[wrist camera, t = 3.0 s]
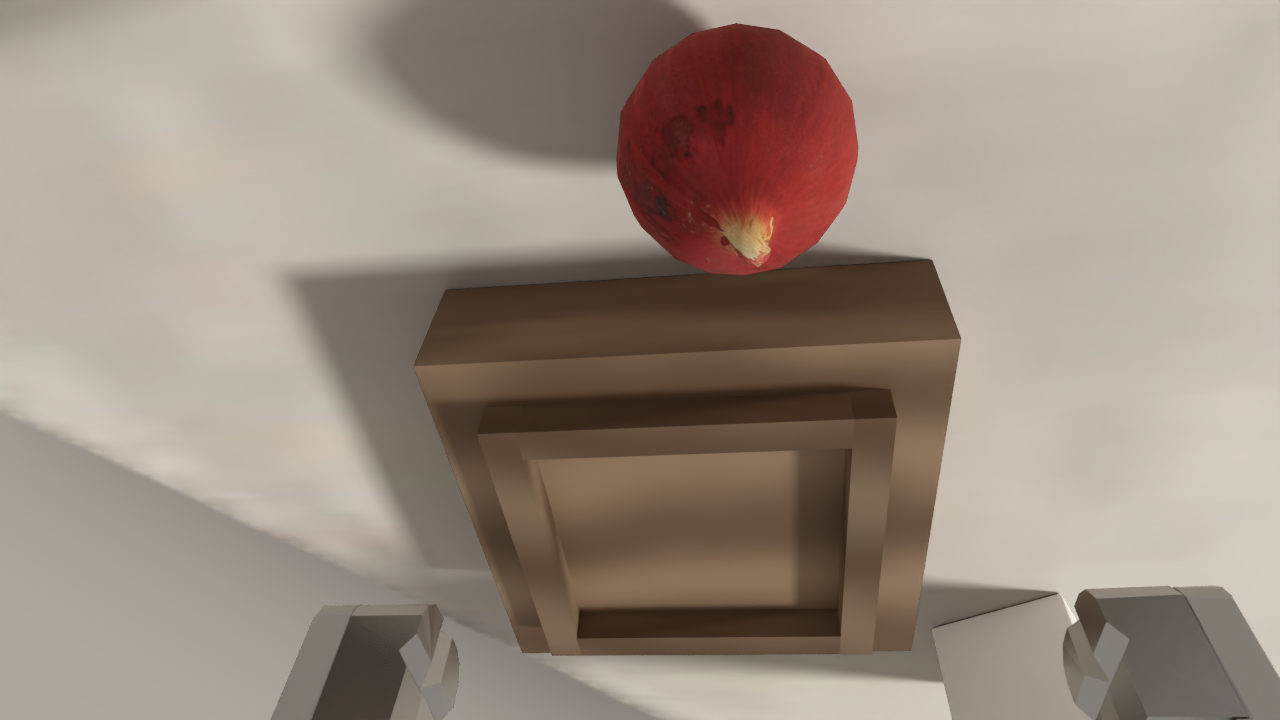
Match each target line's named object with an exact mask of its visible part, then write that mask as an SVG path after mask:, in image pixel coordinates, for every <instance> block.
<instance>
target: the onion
mask: <svg viewBox="0 0 1280 720" xmlns="http://www.w3.org/2000/svg"><path fill="white" fill-rule="evenodd" d="M857 157H858V141H857V134H856V127H855V120H854V113H853V106H852V100H851V99H850V97H849V95H848V94H847V92H846V91H845V89H844V88H843V86H842V84H841V83H840V81H839V80H838V78H837V76H836V75H835V73H834V72H833V70H832V68H831V67H830V65H829V64H828V62H827V60H826V59H825V58H823V57H822V56H821V55H819V54H818V53H816V52H815V51H813V50H811V49H810V48H808V47H806V46H805V45H803V44H802V43H800V42H798V41H797V40H795V39H793V38H792V37H790V36H789V35H787V34H785V33H784V32H782V31H780V30H777V29H770V28H763V27H757V26H750V25H744V24H737V23H736V24H732V25H727V26H723V27H718V28H714V29H709V30H705V31H700V32H696V33H692V34H691V35H689V36H688V37H686V38H685V39H684V40H682V41H681V42H679V43H678V44H676V45H675V46H673V47H672V48H670V49H669V50H667V51H666V52H664V53H663V54H661V55H660V56H658V57H657V58H655V59H654V60H653V62H652V63H651V65H650V66H649V68H648V69H647V71H646V72H645V74H644V75H643V77H642V79H641V80H640V82H639V83H638V85H637V86H636V88H635V89H634V91H633V92H632V94H631V95H630V97H629V98H628V100H627V102H626V104H625V106H624V108H623V110H622V111H621V116H620V127H619V138H618V149H617V159H616V161H617V175H618V179H619V181H620V183H621V186H622V188H623V190H624V193H625V195H626V198H627V200H628V202H629V205H630V207H631V209H632V212H633V214H634V216H635V218H636V219H637V221H638V222H639V224H640V225H641V227H642V228H643V229H644V230H645V231H646V232H647V233H648V234H649V235H651V236H652V237H653V238H654V239H655V240H656V241H657V242H658V243H659V244H660V245H661V246H662V247H663V248H664V249H665V250H667V251H668V252H669V253H670V254H671V255H672V256H673V257H674V258H676V259H677V260H680V261H682V262H684V263H687V264H689V265H691V266H694V267H696V268H698V269H701V270H703V271H705V272H708V273H714V274H734V275H748V274H753V273H758V272H763V271H768V270H772V269H777V268H781V267H783V266H784V265H786V264H787V263H789V262H790V261H792V260H793V259H794V258H796V257H797V256H799V255H800V254H802V253H803V252H805V251H806V250H807V249H809V248H810V247H812V246H813V245H815V244H816V243H817V242H818V241H819V240H820V238H821V237H822V236H823V234H824V233H825V232H826V230H827V229H828V228H829V226H830V225H831V224H832V222H833V221H834V220H835V218H836V217H837V216H838V214H839V213H840V211H841V210H842V208H843V207H844V205H845V203H846V201H847V197H848V194H849V190H850V186H851V182H852V179H853V175H854V171H855V167H856V163H857Z"/></svg>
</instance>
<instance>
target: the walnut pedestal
mask: <svg viewBox="0 0 1280 720" xmlns="http://www.w3.org/2000/svg"><path fill="white" fill-rule="evenodd" d="M960 343H961V337H960V334H959V331H958V329H957V326H956V323H955V321H954V318H953V315H952V312H951V310H950V307H949V304H948V302H947V299H946V296H945V293H944V291H943V288H942V285H941V283H940V280H939V277H938V274H937V272H936V269H935V266H934V264H933V261H932V260H924V261H908V262H892V263H876V264H860V265H844V266H827V267H811V268H795V269H779V270H768V271H763V272H758V273H753V274H748V275H734V274H699V275H682V276H666V277H650V278H634V279H618V280H602V281H586V282H570V283H554V284H537V285H521V286H505V287H489V288H473V289H457V290H445V292H444V295H443V297H442V299H441V302H440V304H439V306H438V309H437V311H436V314H435V316H434V318H433V321H432V323H431V326H430V328H429V330H428V333H427V335H426V337H425V340H424V342H423V345H422V347H421V349H420V352H419V354H418V357H417V359H416V361H415V364H414V366H413V367H414V369H415V372H416V375H417V377H418V380H419V383H420V385H421V388H422V390H423V393H424V396H425V398H426V401H427V404H428V406H429V409H430V411H431V414H432V417H433V419H434V422H435V425H436V427H437V430H438V432H439V435H440V438H441V440H442V443H443V446H444V448H445V451H446V454H447V456H448V459H449V461H450V464H451V467H452V469H453V472H454V475H455V477H456V480H457V482H458V485H459V488H460V490H461V493H462V496H463V498H464V501H465V503H466V506H467V509H468V511H469V514H470V517H471V519H472V522H473V524H474V527H475V530H476V532H477V535H478V538H479V540H480V543H481V545H482V548H483V551H484V553H485V556H486V559H487V561H488V564H489V566H490V569H491V572H492V574H493V577H494V580H495V582H496V585H497V587H498V590H499V593H500V595H501V598H502V601H503V603H504V606H505V608H506V611H507V614H508V616H509V619H510V622H511V624H512V627H513V629H514V632H515V635H516V637H517V640H518V643H519V645H520V648H521V650H522V653H551V654H552V656H561V655H755V654H872V651H911V648H912V642H913V636H914V630H915V624H916V617H917V611H918V605H919V599H920V592H921V586H922V580H923V574H924V567H925V561H926V555H927V549H928V543H929V536H930V530H931V524H932V518H933V511H934V505H935V499H936V493H937V486H938V480H939V474H940V468H941V461H942V455H943V449H944V443H945V437H946V430H947V424H948V418H949V412H950V405H951V399H952V393H953V387H954V380H955V374H956V368H957V362H958V356H959V349H960Z"/></svg>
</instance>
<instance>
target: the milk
mask: <svg viewBox="0 0 1280 720" xmlns="http://www.w3.org/2000/svg"><path fill="white" fill-rule="evenodd" d="M1075 622H1077V620H1076V619H1075V617H1074V615H1073V614H1072V612H1071V610H1070V609H1069V607H1068V605H1067V603H1066V602H1065V600H1064V598H1063V597H1062V595H1061V594H1056V595H1052V596H1049V597H1045V598H1041V599H1038V600H1034V601H1031V602H1027V603H1023V604H1020V605H1016V606H1012V607H1009V608H1005V609H1001V610H998V611H994V612H990V613H987V614H983V615H979V616H976V617H972V618H969V619H965V620H961V621H958V622H954V623H950V624H947V625H943V626H939V627H936V628H933V629H932V633H933V638H934V642H935V646H936V651H937V655H938V660H939V664H940V668H941V673H942V677H943V682H944V686H945V690H946V695H947V699H948V703H949V708H950V712H951V717H952V720H1092V719H1091V718H1090V717H1089V716H1088V715H1087V714H1085V713H1084V712H1083V711H1082V710H1081V709H1080V708H1079V707H1078V706H1076V705H1075V704H1074V701H1073V698H1072V695H1071V692H1070V689H1069V687H1068V684H1067V679H1066V675H1065V671H1064V666H1063V641H1064V637H1065V634H1066V630H1067V628H1068V627H1069V626H1071V625H1072V624H1074V623H1075Z"/></svg>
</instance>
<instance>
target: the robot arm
mask: <svg viewBox="0 0 1280 720" xmlns="http://www.w3.org/2000/svg"><path fill="white" fill-rule="evenodd" d="M1074 607H1075V609H1076V612H1077V614H1078V617H1079V619H1080V620H1078V621H1077V622H1075V623H1074V624H1072V625H1071V626H1069V627H1068V628H1067V630H1066V634H1065V637H1064V641H1063V666H1064V671H1065V675H1066V679H1067V684H1068V687H1069V689H1070V692H1071V695H1072V698H1073V701H1074V704H1075V705H1076V706H1078V707H1079V708H1080V709H1081V710H1082V711H1083V712H1084V713H1085V714H1087V715H1088V716H1089V717H1090V718H1091V719H1092V720H1280V677H1279V675H1278V673H1277V672H1276V670H1275V668H1274V667H1273V665H1272V663H1271V661H1270V660H1269V658H1268V656H1267V655H1266V653H1265V651H1264V650H1263V648H1262V646H1261V645H1260V643H1259V641H1258V639H1257V638H1256V636H1255V634H1254V633H1253V631H1252V629H1251V628H1250V626H1249V624H1248V623H1247V621H1246V619H1245V617H1244V616H1243V614H1242V612H1241V611H1240V609H1239V607H1238V606H1237V604H1236V602H1235V600H1234V599H1233V597H1232V595H1231V594H1229V593H1228V592H1227V591H1226V590H1225V589H1223V588H1222V587H1218V586H1191V587H1170V586H1156V587H1129V588H1103V589H1085V590H1084V591H1082V592H1081V593H1079V595H1078V598H1077V601H1076V603H1075V606H1074ZM442 622H443V617H442V615H441V613H440V611H439V609H438V607H437V605H436V604H416V605H325V606H323V607H322V609H321V610H320V611H319V612H318V613H317V614H316V616H315V617H314V619H313V620H312V623H311V625H310V628H309V630H308V633H307V635H306V637H305V640H304V642H303V644H302V647H301V649H300V651H299V654H298V656H297V658H296V661H295V663H294V665H293V668H292V670H291V673H290V675H289V677H288V680H287V682H286V685H285V687H284V690H283V692H282V694H281V697H280V699H279V701H278V704H277V706H276V708H275V710H274V713H273V715H272V718H271V720H442V719H443V718H444V717H445V716H446V715H447V714H448V713H449V712H450V711H451V710H452V709H453V708H454V703H455V698H456V694H457V690H458V683H459V658H458V652H457V648H456V645H455V643H454V641H453V638H451V637H450V636H448V635H447V634H445V633H444V632H442V631H440V630H441V626H442Z"/></svg>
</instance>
